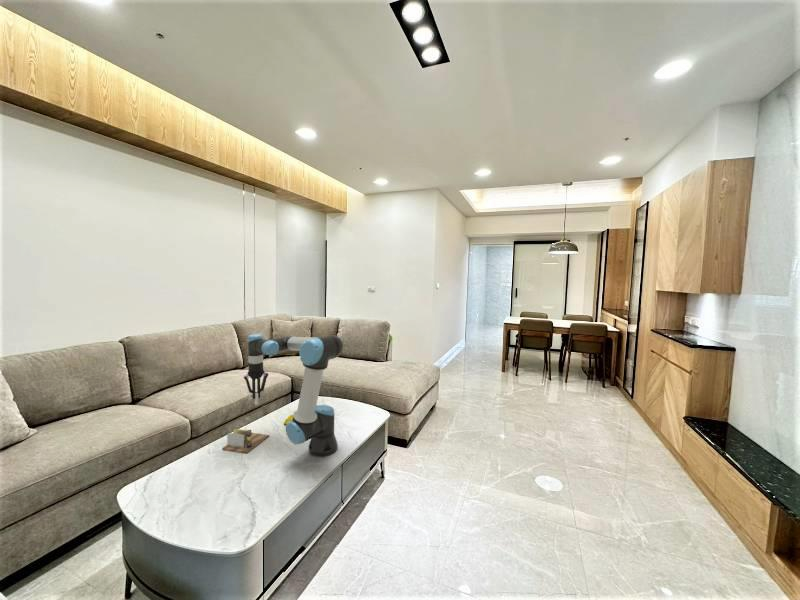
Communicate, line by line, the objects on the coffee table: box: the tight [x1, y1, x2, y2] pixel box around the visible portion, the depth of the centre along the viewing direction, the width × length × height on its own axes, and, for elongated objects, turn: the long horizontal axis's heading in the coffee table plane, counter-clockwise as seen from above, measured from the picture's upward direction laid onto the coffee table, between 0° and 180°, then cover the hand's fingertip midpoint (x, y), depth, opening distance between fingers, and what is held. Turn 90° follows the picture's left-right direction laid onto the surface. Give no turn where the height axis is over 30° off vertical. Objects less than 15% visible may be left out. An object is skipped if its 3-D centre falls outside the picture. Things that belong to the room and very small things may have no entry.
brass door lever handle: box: [232, 428, 252, 444], centre depth 176 cm, size 12×4×7 cm, turn 79°
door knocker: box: [283, 414, 293, 426], centre depth 207 cm, size 16×16×4 cm
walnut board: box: [221, 432, 270, 454], centre depth 180 cm, size 15×19×1 cm
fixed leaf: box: [226, 429, 253, 449], centre depth 175 cm, size 12×4×9 cm, turn 77°
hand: (256, 403), depth 183 cm, fingers closed
